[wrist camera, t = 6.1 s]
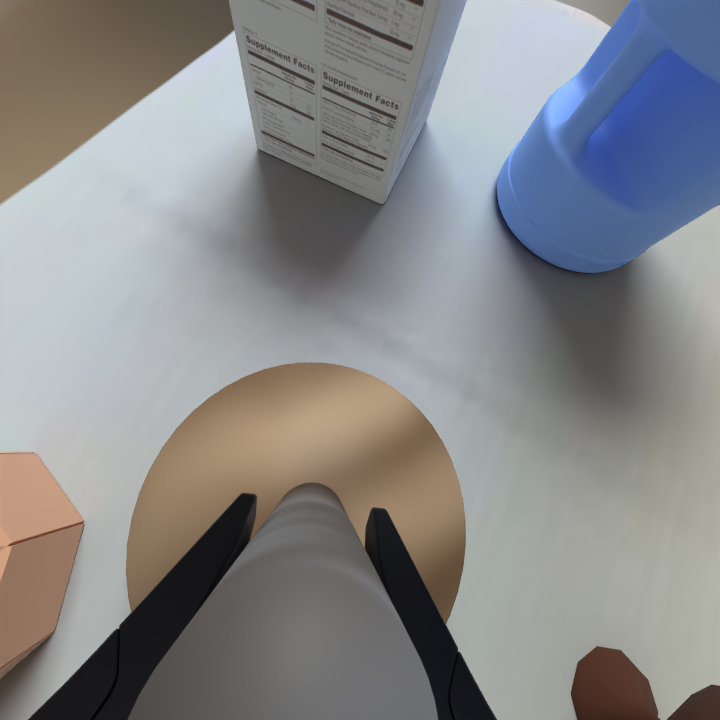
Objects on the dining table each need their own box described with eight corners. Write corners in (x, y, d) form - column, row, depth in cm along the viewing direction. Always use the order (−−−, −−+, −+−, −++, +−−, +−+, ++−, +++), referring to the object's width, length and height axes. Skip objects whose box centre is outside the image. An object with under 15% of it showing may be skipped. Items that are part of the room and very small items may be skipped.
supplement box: (315, 68, 32) (313, -344, 15) (428, 119, 32) (548, -234, 16) (253, 150, 28) (160, -296, 11) (384, 208, 28) (484, -146, 11)
